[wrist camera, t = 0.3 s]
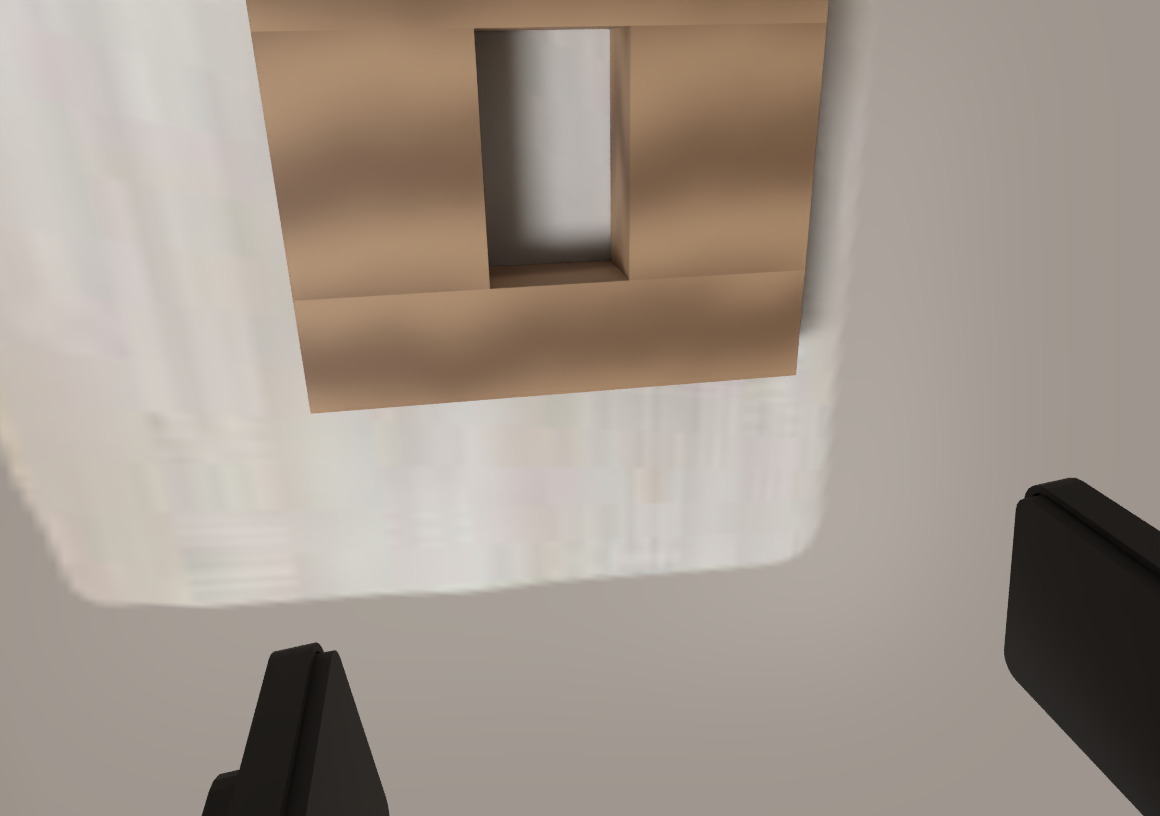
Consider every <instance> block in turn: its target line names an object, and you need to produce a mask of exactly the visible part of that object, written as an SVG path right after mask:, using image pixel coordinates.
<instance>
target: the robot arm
mask: <svg viewBox="0 0 1160 816" xmlns="http://www.w3.org/2000/svg"><path fill="white" fill-rule="evenodd" d="M1004 655H1005V661H1006V664H1007V666H1008V668H1009V670H1010V672H1011V674H1012V676H1013V677H1014V678H1015V680H1016V681H1017V682H1018V683H1019V684H1020V685H1021V686H1022V687H1023V688H1024V689H1025V690H1026V691H1027V692H1028V693H1029V695H1030V696H1031V697H1032V698H1033V699H1034V700H1035V701H1036V702H1037V703H1038V704H1039V705H1040V706H1041V707H1042V708H1043V709H1044V710H1045V712H1046V713H1047V714H1048V715H1049V716H1050V717H1051V718H1052V719H1053V720H1054V721H1055V722H1056V723H1057V724H1058V725H1059V726H1060V727H1061V729H1062V730H1063V731H1064V732H1065V733H1066V734H1067V735H1068V736H1069V737H1070V738H1071V739H1072V740H1073V741H1074V742H1075V743H1076V744H1077V746H1079V748H1080V749H1081V750H1082V751H1083V752H1084V753H1085V754H1086V755H1087V756H1088V757H1089V758H1090V759H1091V760H1092V761H1093V762H1094V764H1096V766H1097V767H1098V768H1099V769H1100V770H1101V771H1102V772H1103V773H1104V774H1105V775H1106V776H1107V777H1108V778H1109V780H1111V782H1112V783H1113V784H1114V785H1115V786H1116V787H1117V788H1118V789H1119V790H1120V791H1121V792H1122V793H1123V794H1124V796H1125V797H1126V798H1127V799H1128V800H1129V801H1130V802H1131V803H1132V804H1133V805H1134V806H1135V807H1136V808H1137V809H1138V810H1139V811H1140V812H1141V814H1142V815H1143V816H1160V531H1159V530H1157V529H1156V528H1154V527H1153V526H1151V525H1149V524H1148V523H1146V522H1145V521H1143V520H1141V519H1140V518H1139V517H1137V516H1136V515H1134V514H1132V513H1131V512H1129V511H1128V510H1126V509H1125V508H1123V507H1122V506H1120V505H1118V504H1117V503H1116V502H1114V501H1113V500H1111V499H1109V498H1108V497H1106V496H1104V495H1103V494H1102V493H1100V492H1098V491H1097V490H1096V489H1094V488H1092V487H1091V486H1089V485H1088V484H1086V483H1085V482H1083V481H1081V480H1079V479H1077V478H1067V479H1062V480H1058V481H1053V482H1048V483H1044V484H1039V485H1035V486H1032V487H1031V488H1029V489H1028V490H1027V492H1026V494H1025V498H1024V499H1022V500H1020V501H1019V502H1018V504H1017V508H1016V514H1015V527H1014V538H1013V550H1012V563H1011V574H1010V587H1009V599H1008V610H1007V623H1006V634H1005V646H1004ZM202 816H389V810H388V804H387V800H386V796H385V793H384V791H383V787H382V784H381V781H380V778H379V775H378V772H377V769H376V766H375V763H374V760H373V756H372V753H371V751H370V747H369V744H368V741H367V738H366V735H365V732H364V729H363V726H362V723H361V720H360V717H359V714H358V711H357V708H356V704H355V702H354V698H353V696H352V693H351V689H350V686H349V683H348V680H347V677H346V674H345V671H344V668H343V665H342V662H341V659H340V656H339V654H338V652H337V651H335V650H334V651H329V652H324V651H323V649H322V647H321V646H320V644H319V643H311V644H307V645H302V646H298V647H293V648H289V649H284V650H279V651H275V652H273V653H272V654H271V655H270V658H269V661H268V665H267V668H266V672H265V676H264V680H263V683H262V687H261V691H260V695H259V698H258V702H257V706H256V709H255V713H254V717H253V721H252V725H251V729H250V732H249V736H248V740H247V743H246V747H245V751H244V755H243V758H242V763H241V766H240V770H236V771H232V772H227V773H223V774H219V775H218V776H217V778H216V779H215V780H214V781H213V783H212V786H211V788H210V790H209V793H208V796H207V800H206V803H205V806H204V810H203V813H202Z"/></svg>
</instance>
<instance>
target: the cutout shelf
mask: <svg viewBox="0 0 1160 816" xmlns="http://www.w3.org/2000/svg"><path fill="white" fill-rule="evenodd" d="M246 4H247V11H248V17H249V23H250V30H251V36H252V42H253V49H254V55H255V61H256V68H257V74H258V81H259V87H260V93H261V100H262V106H263V112H264V119H265V125H266V131H267V138H268V144H269V151H270V157H271V163H272V170H273V176H274V182H275V189H276V195H277V201H278V208H279V214H280V221H281V227H282V233H283V240H284V246H285V252H286V259H287V265H288V271H289V278H290V284H291V291H292V297H293V303H294V310H295V316H296V322H297V329H298V335H299V341H300V348H301V354H302V361H303V367H304V373H305V380H306V386H307V392H308V399H309V405H310V411H311V413H324V412H337V411H349V410H362V409H374V408H387V407H400V406H412V405H425V404H437V403H450V402H463V401H475V400H488V399H501V398H513V397H526V396H538V395H551V394H564V393H576V392H589V391H601V390H614V389H627V388H639V387H652V386H665V385H677V384H690V383H702V382H715V381H728V380H740V379H753V378H765V377H778V376H791V375H796V367H797V356H798V345H799V333H800V322H801V311H802V299H803V288H804V277H805V265H806V254H807V243H808V231H809V220H810V209H811V197H812V186H813V175H814V163H815V152H816V141H817V129H818V118H819V107H820V95H821V84H822V73H823V61H824V50H825V39H826V27H827V16H828V5H829V0H246ZM565 29H610V140H611V260H601V261H584V262H566V263H548V264H531V265H513V266H495V267H489V266H488V250H487V233H486V217H485V201H484V185H483V169H482V153H481V137H480V120H479V104H478V88H477V72H476V56H475V40H474V31H503V30H565Z"/></svg>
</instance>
